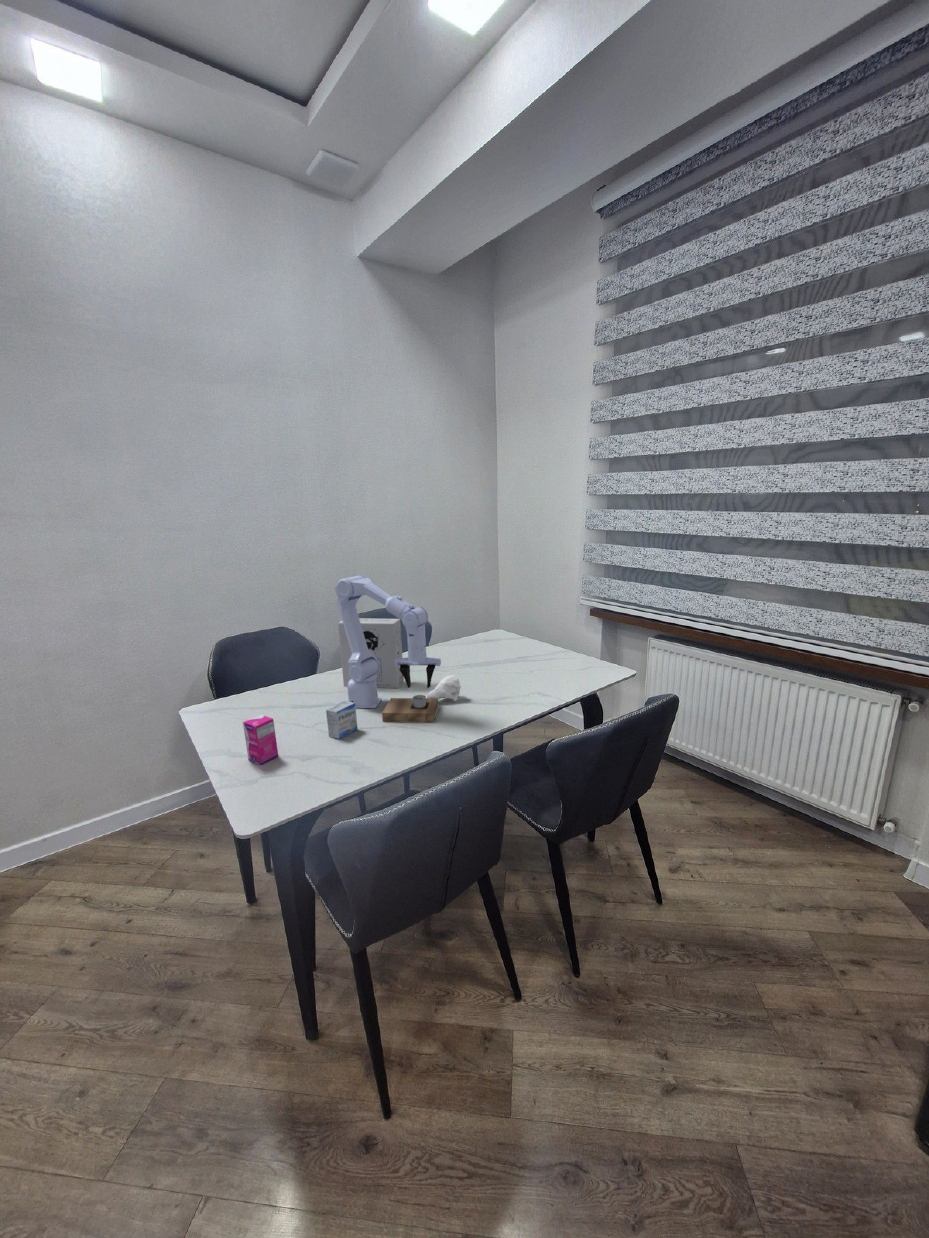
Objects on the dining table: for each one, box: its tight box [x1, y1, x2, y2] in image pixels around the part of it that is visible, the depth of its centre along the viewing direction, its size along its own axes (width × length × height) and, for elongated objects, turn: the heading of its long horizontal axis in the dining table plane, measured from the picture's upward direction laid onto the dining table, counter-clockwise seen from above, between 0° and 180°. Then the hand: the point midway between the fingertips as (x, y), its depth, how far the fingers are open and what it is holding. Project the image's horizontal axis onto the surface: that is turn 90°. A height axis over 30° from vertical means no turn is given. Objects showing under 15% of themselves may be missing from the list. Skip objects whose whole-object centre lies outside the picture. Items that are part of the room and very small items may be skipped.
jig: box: [381, 697, 439, 723], centre depth 160 cm, size 16×12×3 cm
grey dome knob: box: [412, 694, 427, 709], centre depth 159 cm, size 4×4×6 cm
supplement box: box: [242, 713, 279, 766], centre depth 133 cm, size 6×6×12 cm
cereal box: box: [337, 617, 405, 689], centre depth 185 cm, size 22×8×25 cm, turn 80°
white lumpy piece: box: [426, 674, 462, 703], centre depth 169 cm, size 6×8×12 cm
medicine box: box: [325, 700, 358, 740], centre depth 147 cm, size 8×4×9 cm, turn 148°
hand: (419, 686), depth 158 cm, fingers open, 6 cm apart
